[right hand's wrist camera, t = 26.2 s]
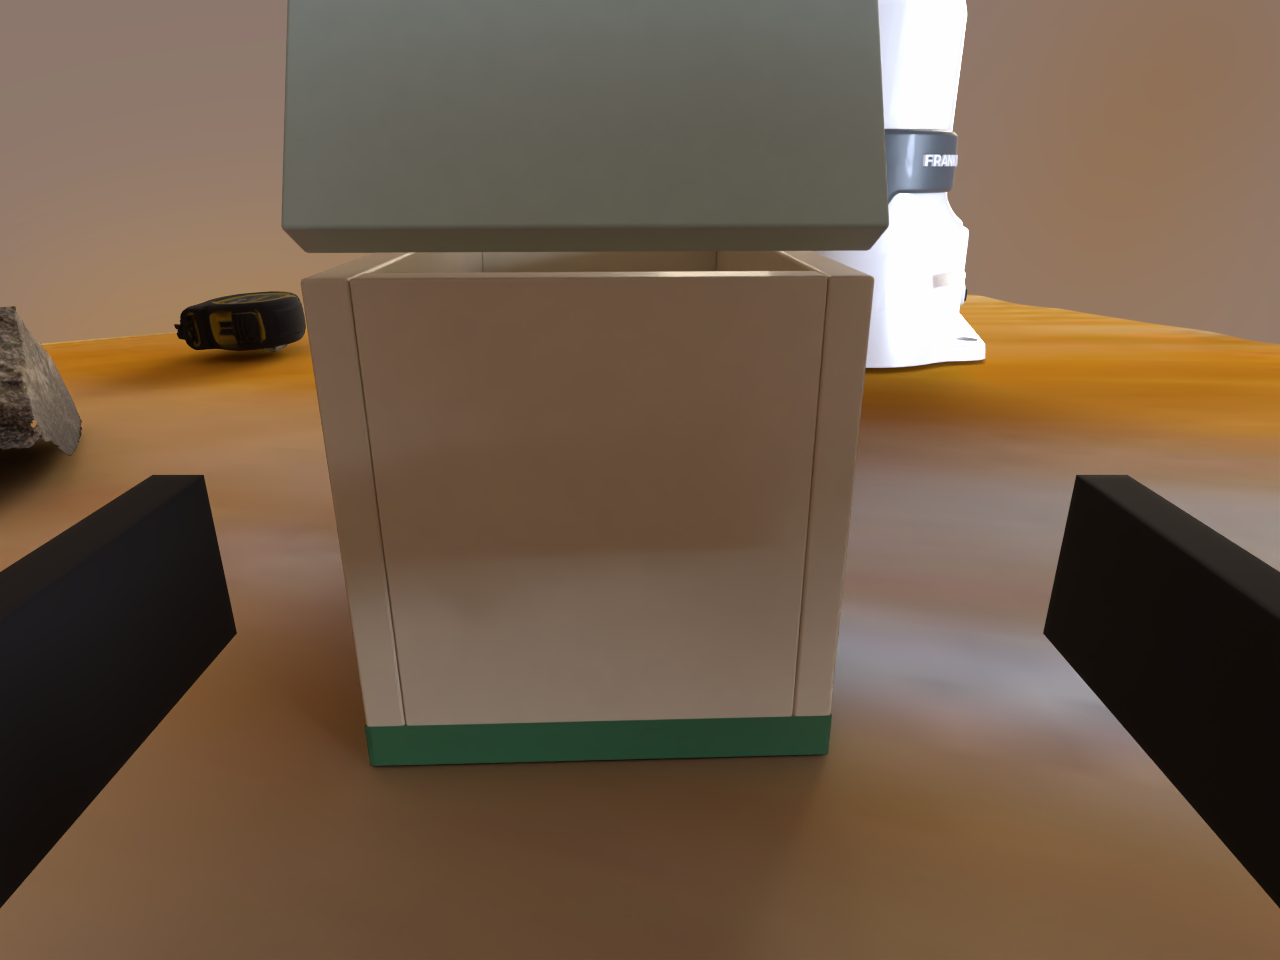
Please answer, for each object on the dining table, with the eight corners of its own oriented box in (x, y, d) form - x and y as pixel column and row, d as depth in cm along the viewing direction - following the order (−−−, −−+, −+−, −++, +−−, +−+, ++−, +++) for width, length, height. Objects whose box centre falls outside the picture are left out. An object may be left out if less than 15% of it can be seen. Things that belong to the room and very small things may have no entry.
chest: (479, 489, 33) (458, 220, 29) (727, 486, 33) (738, 219, 30) (370, 765, 18) (297, 279, 14) (827, 754, 18) (877, 276, 14)
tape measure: (236, 340, 60) (226, 289, 59) (325, 341, 60) (317, 289, 58) (181, 360, 54) (169, 303, 53) (281, 361, 53) (271, 304, 52)
